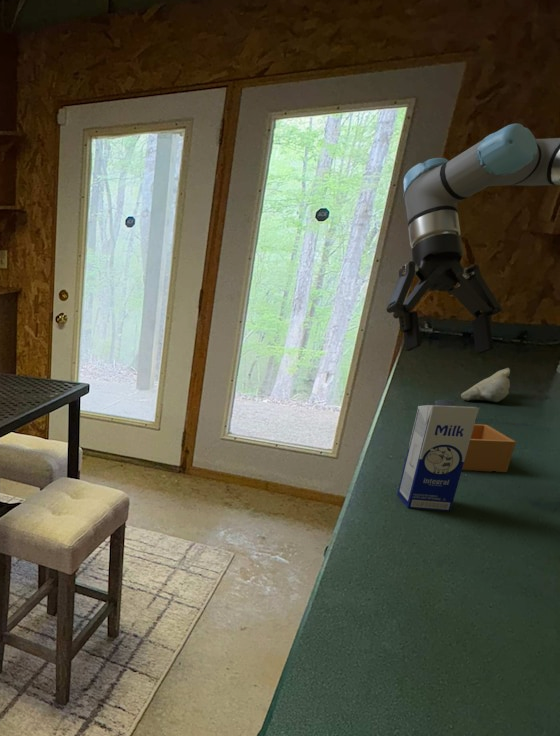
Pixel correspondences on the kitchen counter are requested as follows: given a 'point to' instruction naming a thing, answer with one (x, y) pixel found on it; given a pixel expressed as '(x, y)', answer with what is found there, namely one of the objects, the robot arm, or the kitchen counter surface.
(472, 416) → the milk carton
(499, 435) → the bin
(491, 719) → the kitchen counter surface
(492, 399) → the white lumpy piece
